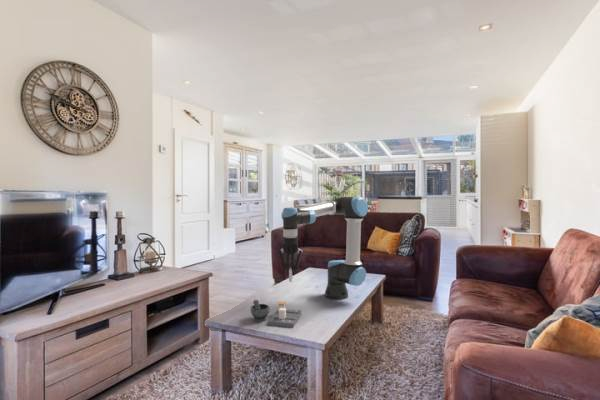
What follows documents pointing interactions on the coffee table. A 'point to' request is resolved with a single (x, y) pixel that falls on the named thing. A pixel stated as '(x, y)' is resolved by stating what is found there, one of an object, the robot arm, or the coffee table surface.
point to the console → (289, 321)
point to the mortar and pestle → (259, 311)
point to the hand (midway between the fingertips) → (291, 281)
